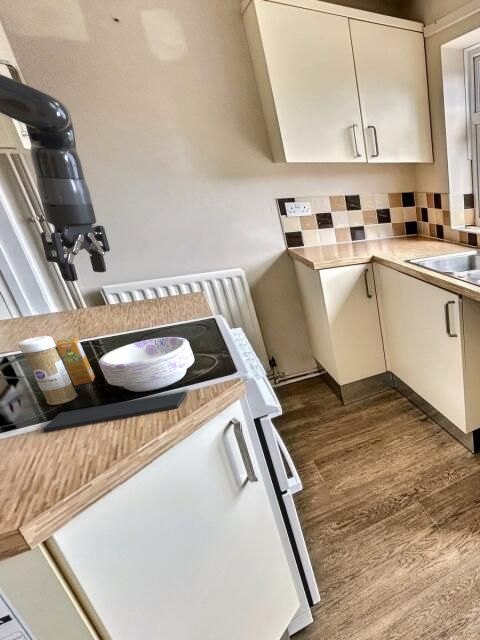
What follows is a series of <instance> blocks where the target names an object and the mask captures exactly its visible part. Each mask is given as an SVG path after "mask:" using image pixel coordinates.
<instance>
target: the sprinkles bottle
mask: <svg viewBox="0 0 480 640" xmlns="http://www.w3.org/2000/svg"><path fill="white" fill-rule="evenodd" d="M17 346H18V348H19V350H20V352H21V353H22V355H24V357H25V359H26V360H27V363H28V365H29V367H30V369H31V371H32V373H33V375H34V379H35V381H36V383H37V385H38V387H39V389H40V390H41V392H42V395H43V397H44V398H45V400H46V404H47V405H50V406H57V405H58V406H59V405H62V404H66V403H69V402H71V401H73V400H75V399H76V398H78V396H79V394H78V393H77V392H76V390H75V388H74V386H73V385H74V384H73V382H72V380H71V378H70V375H69V373H68V371H67V369H66V367H65V364H64V362H63V360H62V358H61V356H60V354H59V352H58V350H57V347H56V343H55V341H54V339H53V337H52V336H49V335H42V336H34V337H31V338H27V339H23V340H21V341H19V342H18V343H17Z"/></svg>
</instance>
